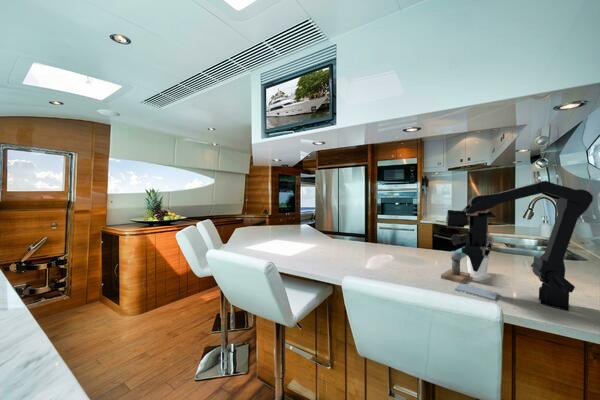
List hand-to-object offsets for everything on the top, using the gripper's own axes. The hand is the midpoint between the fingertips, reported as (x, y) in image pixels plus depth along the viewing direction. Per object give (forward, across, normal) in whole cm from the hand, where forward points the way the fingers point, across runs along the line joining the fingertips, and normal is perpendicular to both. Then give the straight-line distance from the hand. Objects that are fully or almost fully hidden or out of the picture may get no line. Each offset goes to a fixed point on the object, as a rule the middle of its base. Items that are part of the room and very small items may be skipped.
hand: (477, 269), depth 88 cm
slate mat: (+9, 0, 0) cm, 9 cm away
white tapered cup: (+2, 0, 0) cm, 2 cm away
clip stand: (+9, -12, -10) cm, 18 cm away
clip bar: (+1, -20, -10) cm, 22 cm away
